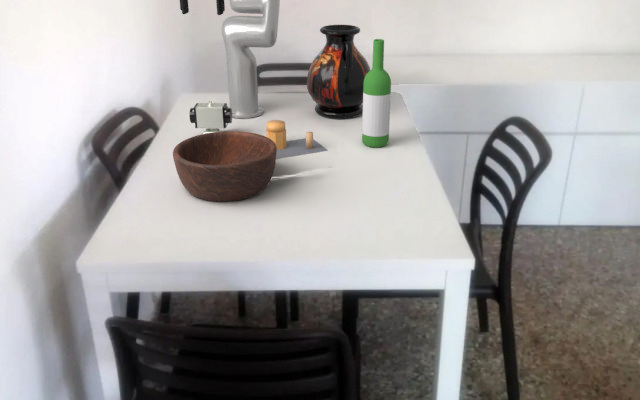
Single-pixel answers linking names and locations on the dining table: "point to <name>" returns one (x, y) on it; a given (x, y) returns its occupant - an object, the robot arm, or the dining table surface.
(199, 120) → the pneumatic valve
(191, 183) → the wooden bowl
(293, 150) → the board
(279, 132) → the orange dome-topped faceted piece
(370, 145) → the wine bottle
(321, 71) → the black vase
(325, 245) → the dining table surface
